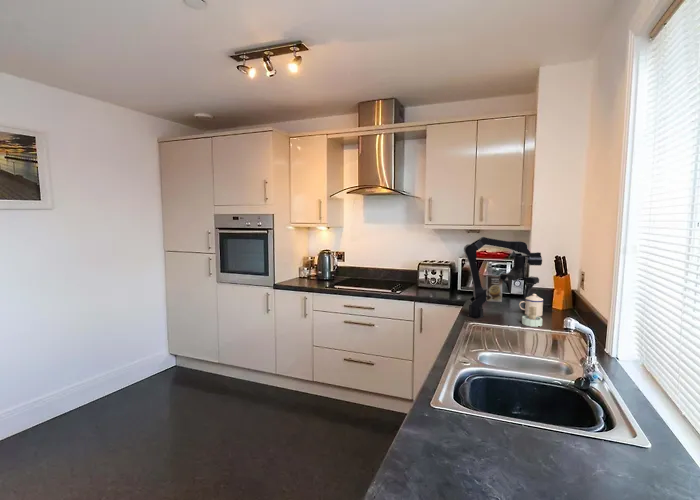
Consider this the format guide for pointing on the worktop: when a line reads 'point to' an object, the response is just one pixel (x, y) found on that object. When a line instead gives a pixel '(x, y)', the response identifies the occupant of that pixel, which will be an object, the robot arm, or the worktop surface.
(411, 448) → the worktop surface
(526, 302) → the teacup with lid
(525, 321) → the light green piece
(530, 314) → the wooden square beam
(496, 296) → the coffee box
